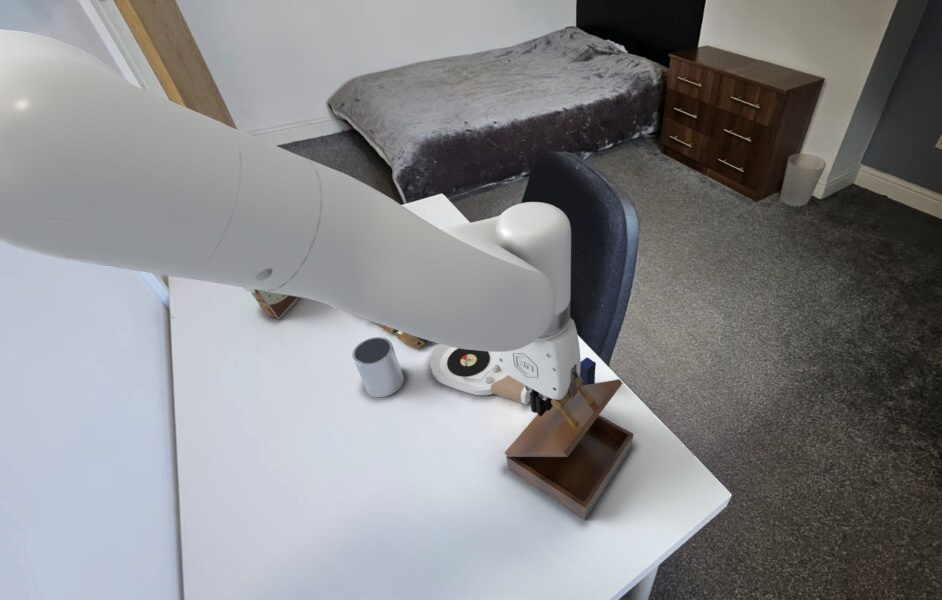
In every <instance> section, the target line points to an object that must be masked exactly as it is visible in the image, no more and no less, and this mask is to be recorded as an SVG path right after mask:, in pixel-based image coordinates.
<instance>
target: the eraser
mask: <svg viewBox="0 0 942 600" xmlns="http://www.w3.org/2000/svg"><path fill="white" fill-rule="evenodd" d="M580 365H581V367H580V377H581V378H582V380H583V383H582V384H583V386H584V385H590V384H595V383H596V367H597V362H596V361H593V360H592V359H591V358H589V357H584V359H582V360H580Z"/></svg>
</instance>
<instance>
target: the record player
mask: <svg viewBox="0 0 942 600" xmlns="http://www.w3.org/2000/svg"><path fill="white" fill-rule="evenodd" d="M429 365H430V369H431V373H432V375H433V377H434V378H435V380H436V381H437V382H439V383H440V384H442V385H444V386H446V387H449V388H451V389H452V388H453V389H455V390H457V391H461V392H464V393H468V394H470V395H475V396H489V395H497V396H500V397H503V398H506V399H509V400H512V401H514V402H517V403H521V404H523V405H528V404H529V402H530V392H528V391H527V390H526V389H525V386H524V384H523V383H521V382H519V381H517V380H516V379H514V378H512V377H510V376H509V375H507V374H506V373H505V372H503V371H502V369H501V368H500V365H499V361H498V352H490V351H478V350H468V349H461V348H455V347H451V346H446V345H442V344H438V345H437V346H436V348H435V349H434V350H433V351H432V354H431V356H430V360H429Z"/></svg>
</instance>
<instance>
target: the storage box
mask: <svg viewBox="0 0 942 600" xmlns="http://www.w3.org/2000/svg"><path fill="white" fill-rule="evenodd" d="M633 441H634V433H633V432H631V431H630V430H627V429H626V428H624V427H622V426H620V425H618V424H617V423H615V422H613V421H611V420H609V419H608V418H606V417H604V416H602V415H601V414H599V416H598V417H597V418H596V420H595V421H594V422H593V424H592V425H591V426H590V428H589V429H588V430H587V432H586V433H585V434H584V436H583V437H582V438H581V440H580V441H579V442H578V444H577V445H576V446H575V448H574V449H573V451H572V452H571V453H570V455H569V456H568V457H507V455H505V456H506V457H505V459H506V465H507V470H508V471H510V473H512V474H514V475H515V476H517V477H519V479H521V480H523V481H525V483H527V484H529V485H530V486H532V487H534V488H535V489H537V490H538V491H540V492H541V493H542V494H544V495H545V496H547V497H548V498H550V499H552V500H553V501H554V502H556V503H558V504H559V505H561V506H562V507H563V508H565V509H567V510H568V511H570V512H571V513H573V514H574V515H575V516H577V517H578V518H580V519H581V520H583V521H585V520H586V519H587V517H588V516H589V515H590V513H591V511H592V510H593V508H594V507H595V505H596V503H597V502H598V500H599V499H600V497H601V495H602V494H603V493H604V491H605V490H606V488H607V486H608V485H609V483H610V482H611V481H612V479H613V477H614V475H615V474H616V473H617V472H618V469H619V468H620V466H621V464H622V463H623V461H624V460H625V458H626V457H627V455H628V454H629V452H630V451H631V449H632V447H633Z"/></svg>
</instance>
